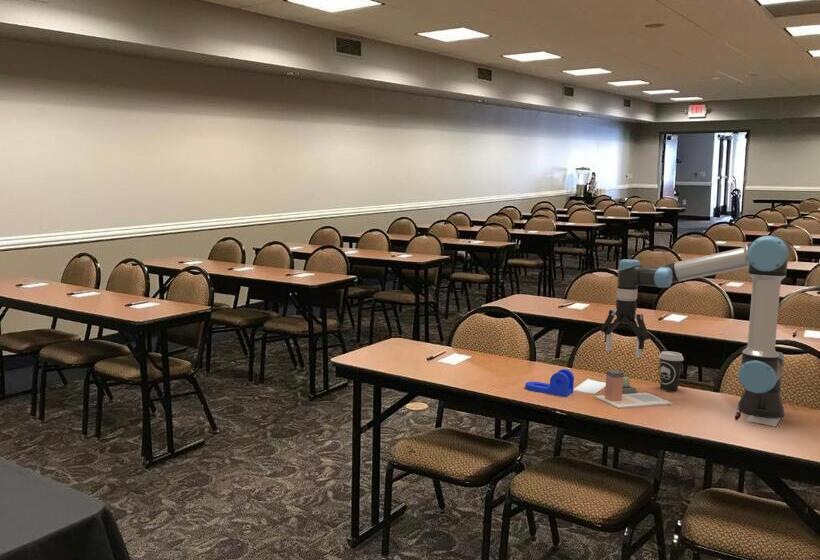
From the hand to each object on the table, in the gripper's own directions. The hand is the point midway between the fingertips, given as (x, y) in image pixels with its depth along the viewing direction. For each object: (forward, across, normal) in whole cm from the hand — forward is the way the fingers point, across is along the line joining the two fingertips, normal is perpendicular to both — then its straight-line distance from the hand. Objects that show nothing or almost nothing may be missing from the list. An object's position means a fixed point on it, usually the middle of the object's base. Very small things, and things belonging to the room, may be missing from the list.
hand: (623, 354), depth 268 cm
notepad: (+16, -7, +3) cm, 18 cm away
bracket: (+17, +19, +20) cm, 33 cm away
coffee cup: (+17, -5, -26) cm, 31 cm away
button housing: (+16, +2, -5) cm, 17 cm away
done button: (+14, +2, -5) cm, 15 cm away
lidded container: (+16, -4, +10) cm, 19 cm away
